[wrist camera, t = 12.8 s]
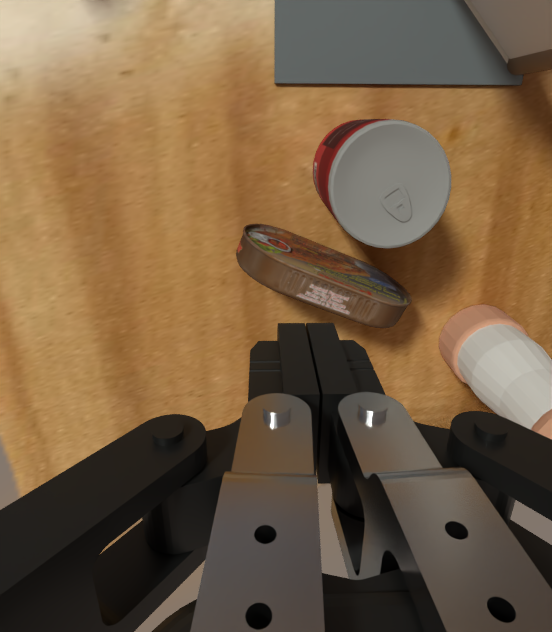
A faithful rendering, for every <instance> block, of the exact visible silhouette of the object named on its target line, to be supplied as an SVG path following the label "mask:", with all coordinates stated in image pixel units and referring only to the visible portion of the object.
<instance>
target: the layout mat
mask: <svg viewBox="0 0 552 632" xmlns="http://www.w3.org/2000/svg"><path fill="white" fill-rule="evenodd" d="M508 60H509V57H508V56H507V54H506V53H505V51H504V50H503V48H502V47H501V45H500V44H499V42H498V41H497V39H496V38H495V36H494V35H493V33H492V32H491V30H490V29H489V27H488V26H487V25H486V23H485V22H484V20H483V19H482V17H481V16H480V14H479V13H478V11H477V10H476V8H475V7H474V5H473V4H472V2H471V1H470V0H275V83H299V84H428V85H522V80H523V74H522V75H512V74H511V73H510V72H509V71H508V69H507V63H508Z"/></svg>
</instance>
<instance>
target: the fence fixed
mask: <svg viewBox="0 0 552 632" xmlns="http://www.w3.org/2000/svg"><path fill="white" fill-rule="evenodd" d="M470 1H471V2H472V4H473V5H474V7H475V8H476V10H477V11H478V13H479V14H480V16H481V17H482V19H483V20H484V22H485V23H486V25H487V26H488V27H489V29H490V30H491V32H492V33H493V35H494V36H495V38H496V39H497V41H498V42H499V44H500V45H501V47H502V48H503V50H504V51H505V53H506V54H507V56H508V57H509V60H508V63H507V69H508V71H509V72H510V73H511V74H512V75H522V74H528V73H533V72H539V71H545V70H551V69H552V0H470Z"/></svg>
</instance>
